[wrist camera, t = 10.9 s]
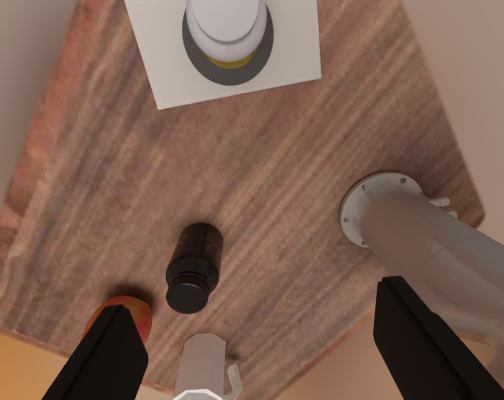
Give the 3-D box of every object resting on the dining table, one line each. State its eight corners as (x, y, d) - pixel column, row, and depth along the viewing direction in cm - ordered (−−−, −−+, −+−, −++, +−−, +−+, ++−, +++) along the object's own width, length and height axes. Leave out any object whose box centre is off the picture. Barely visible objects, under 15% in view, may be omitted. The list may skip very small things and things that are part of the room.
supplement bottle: (176, 223, 38) (150, 277, 27) (221, 220, 38) (213, 272, 27) (183, 260, 41) (162, 322, 30) (225, 257, 41) (220, 318, 30)
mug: (177, 355, 50) (163, 413, 41) (193, 327, 47) (183, 382, 38) (232, 370, 53) (230, 428, 44) (250, 344, 50) (253, 400, 41)
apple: (92, 300, 43) (52, 356, 34) (131, 272, 42) (100, 324, 32) (133, 330, 47) (107, 389, 38) (171, 307, 45) (154, 362, 36)
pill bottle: (244, 80, 29) (248, 73, 19) (191, 52, 28) (163, 28, 17) (269, 20, 27) (290, -26, 17) (213, -14, 26) (196, -88, 15)
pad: (266, -30, 26) (266, -32, 25) (278, 77, 30) (279, 76, 29) (170, -11, 26) (169, -12, 26) (196, 93, 30) (195, 93, 30)
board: (310, -47, 26) (313, -53, 25) (318, 78, 31) (321, 78, 30) (125, -9, 27) (120, -13, 26) (161, 109, 32) (158, 109, 31)
